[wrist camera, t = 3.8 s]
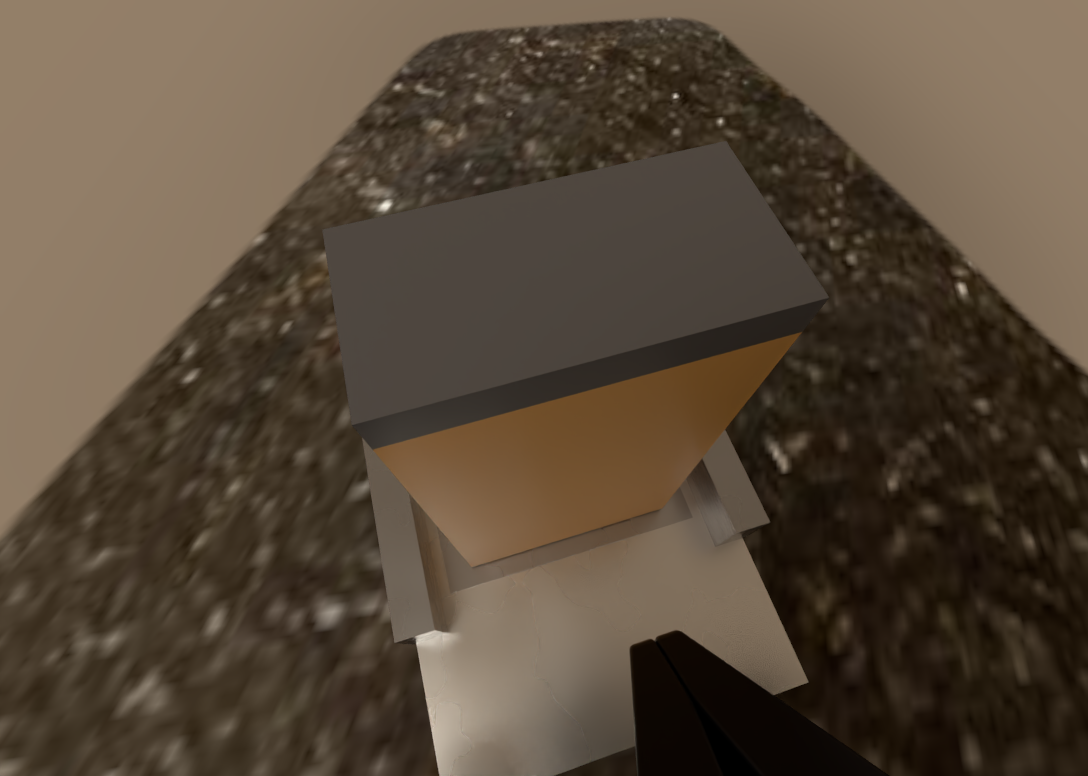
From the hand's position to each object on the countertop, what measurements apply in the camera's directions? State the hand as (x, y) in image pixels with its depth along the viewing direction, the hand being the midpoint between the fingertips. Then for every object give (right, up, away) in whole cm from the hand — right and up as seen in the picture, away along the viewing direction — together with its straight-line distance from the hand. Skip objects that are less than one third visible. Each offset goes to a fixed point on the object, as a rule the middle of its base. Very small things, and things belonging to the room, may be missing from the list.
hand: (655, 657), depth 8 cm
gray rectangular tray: (-2, +2, +10) cm, 10 cm away
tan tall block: (-1, +1, +8) cm, 8 cm away
